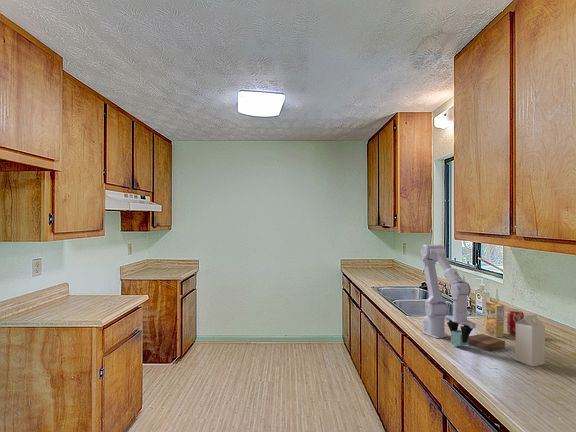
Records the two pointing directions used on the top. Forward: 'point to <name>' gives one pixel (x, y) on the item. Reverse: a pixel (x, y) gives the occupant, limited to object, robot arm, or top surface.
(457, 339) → the teal cube
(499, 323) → the candy box
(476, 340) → the walnut block
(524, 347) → the milk carton
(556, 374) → the top surface
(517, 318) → the soda can
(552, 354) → the top surface
